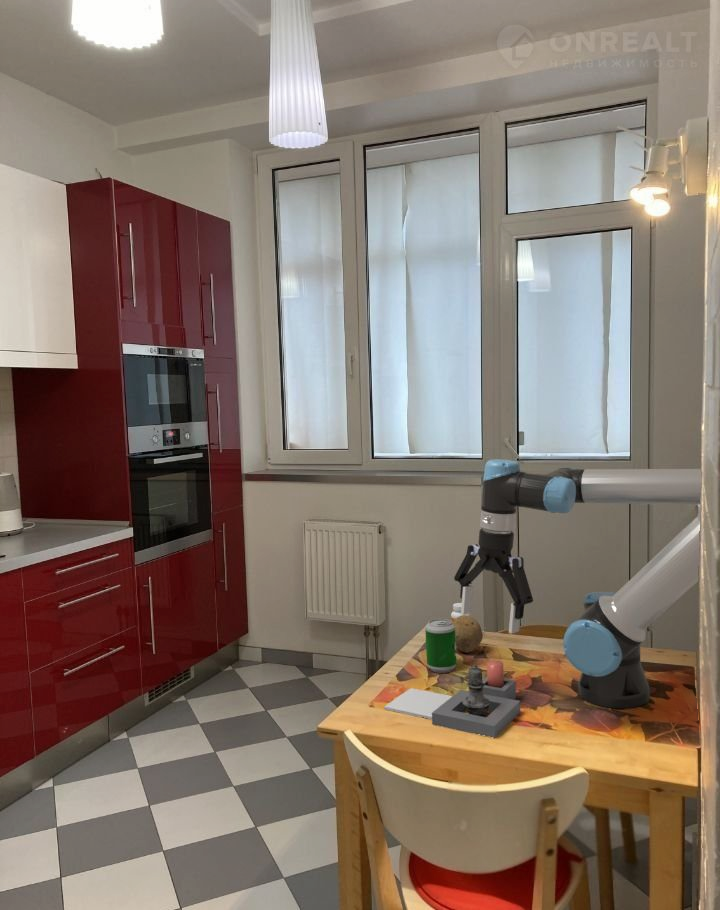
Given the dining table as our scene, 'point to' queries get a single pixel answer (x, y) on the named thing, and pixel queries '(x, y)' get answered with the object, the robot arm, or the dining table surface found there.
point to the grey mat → (417, 703)
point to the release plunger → (495, 674)
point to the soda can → (441, 645)
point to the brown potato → (467, 633)
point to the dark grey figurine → (476, 694)
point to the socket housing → (492, 725)
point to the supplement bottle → (456, 611)
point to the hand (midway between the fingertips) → (489, 622)
